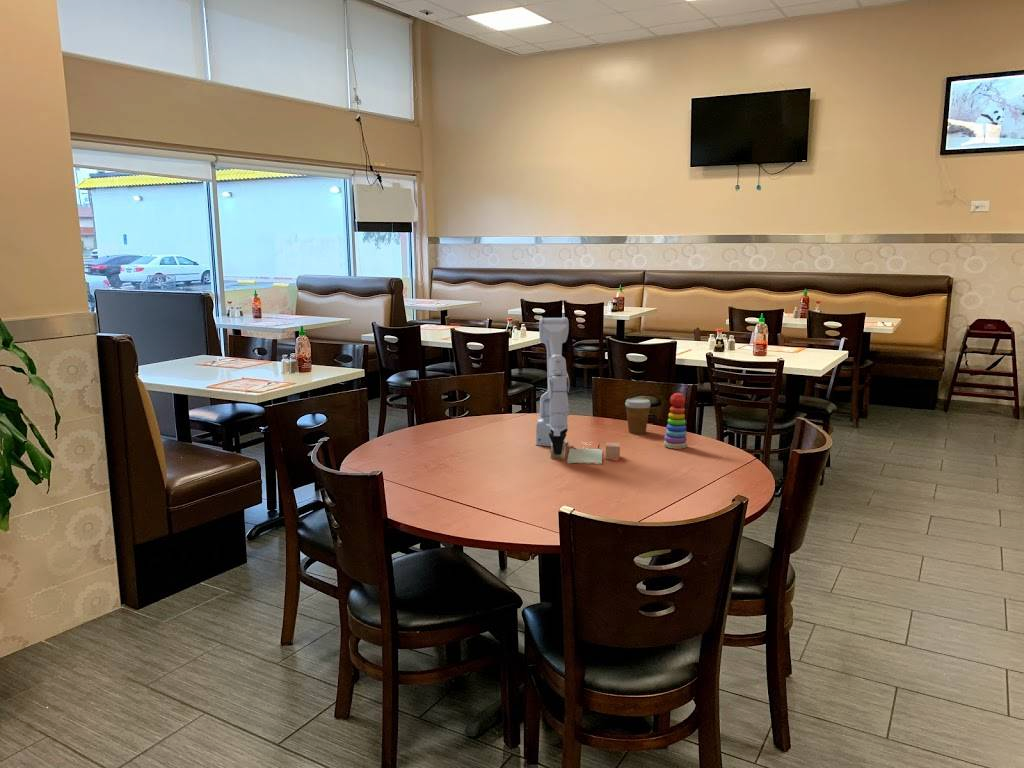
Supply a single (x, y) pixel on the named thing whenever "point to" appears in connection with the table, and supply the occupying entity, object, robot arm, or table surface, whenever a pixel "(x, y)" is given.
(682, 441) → the stacking toy
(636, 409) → the disposable coffee cup
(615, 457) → the pinkish tan cube
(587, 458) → the plate
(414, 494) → the table surface
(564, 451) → the beech block
